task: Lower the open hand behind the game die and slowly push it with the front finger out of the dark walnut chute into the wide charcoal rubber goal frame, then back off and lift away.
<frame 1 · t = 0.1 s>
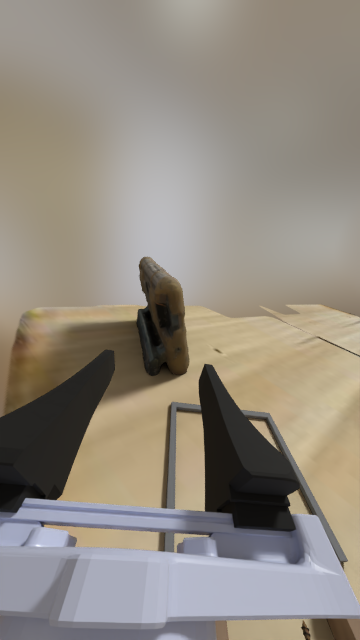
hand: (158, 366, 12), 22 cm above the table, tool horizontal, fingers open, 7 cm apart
goal frame: (234, 465, 26), on the table
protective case: (156, 341, 53), on the table
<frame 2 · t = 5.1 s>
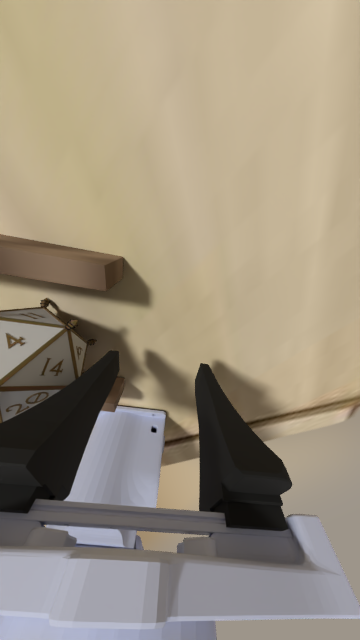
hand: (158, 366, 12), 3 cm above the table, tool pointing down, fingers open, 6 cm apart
game die: (65, 327, 14), on the table, touching gripper
walnut chute: (57, 327, 14), on the table
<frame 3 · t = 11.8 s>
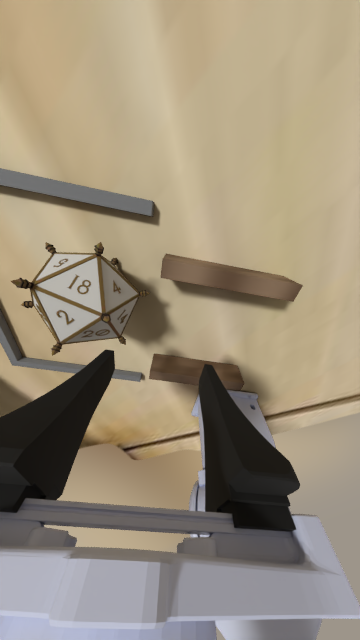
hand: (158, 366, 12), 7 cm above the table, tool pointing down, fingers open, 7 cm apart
goal frame: (71, 304, 18), on the table
game die: (108, 284, 17), on the table
walnut chute: (207, 325, 19), on the table
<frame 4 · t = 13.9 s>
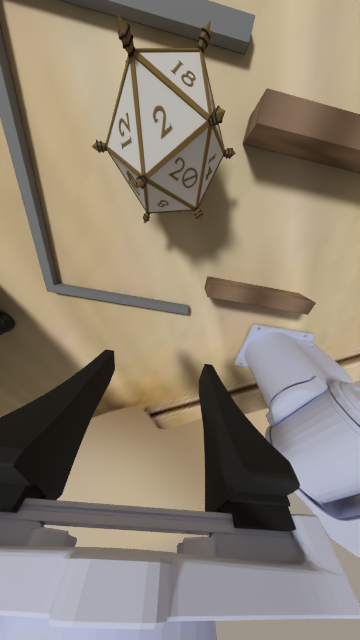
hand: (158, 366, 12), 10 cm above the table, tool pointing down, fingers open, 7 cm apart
goal frame: (125, 201, 15), on the table
game die: (172, 169, 14), on the table
walnut chute: (276, 233, 17), on the table
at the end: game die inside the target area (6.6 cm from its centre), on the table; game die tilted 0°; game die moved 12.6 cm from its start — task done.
